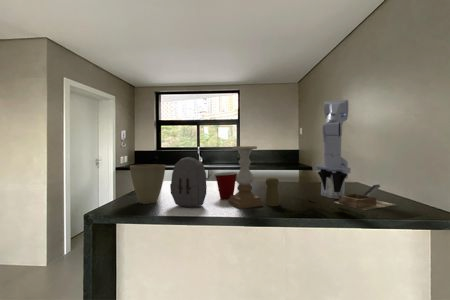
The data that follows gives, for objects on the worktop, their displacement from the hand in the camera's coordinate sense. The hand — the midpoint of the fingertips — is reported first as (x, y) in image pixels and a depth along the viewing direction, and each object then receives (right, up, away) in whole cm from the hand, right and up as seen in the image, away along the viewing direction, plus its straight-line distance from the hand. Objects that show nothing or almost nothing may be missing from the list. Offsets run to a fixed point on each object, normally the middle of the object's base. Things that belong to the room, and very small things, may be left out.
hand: (332, 190), depth 98 cm
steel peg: (0, -2, 0) cm, 2 cm away
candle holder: (-32, -7, +10) cm, 34 cm away
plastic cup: (-40, -7, +21) cm, 46 cm away
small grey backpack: (-55, -8, +7) cm, 56 cm away
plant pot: (-73, -8, +16) cm, 75 cm away
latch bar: (+19, -2, +8) cm, 21 cm away
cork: (-21, -7, +9) cm, 24 cm away
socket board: (+14, -7, +5) cm, 17 cm away
